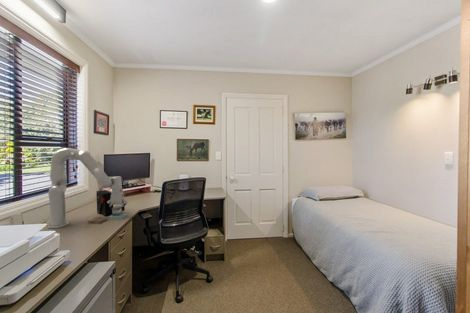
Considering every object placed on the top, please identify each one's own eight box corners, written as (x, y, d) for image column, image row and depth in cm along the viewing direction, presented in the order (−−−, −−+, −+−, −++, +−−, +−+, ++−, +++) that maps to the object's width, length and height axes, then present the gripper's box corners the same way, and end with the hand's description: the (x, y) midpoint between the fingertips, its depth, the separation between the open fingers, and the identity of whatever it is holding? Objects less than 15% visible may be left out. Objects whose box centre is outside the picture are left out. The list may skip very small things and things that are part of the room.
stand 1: (87, 223, 182) (87, 220, 182) (96, 219, 192) (96, 216, 192) (100, 223, 181) (100, 220, 181) (107, 219, 191) (107, 217, 191)
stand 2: (108, 219, 192) (108, 216, 192) (115, 215, 202) (115, 213, 202) (120, 219, 192) (120, 216, 192) (126, 215, 202) (126, 213, 202)
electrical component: (115, 214, 205) (114, 192, 204) (102, 217, 197) (102, 194, 196) (108, 210, 217) (107, 189, 216) (96, 213, 209) (95, 191, 208)
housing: (116, 213, 201) (116, 205, 200) (122, 213, 200) (122, 205, 200) (112, 216, 194) (111, 207, 193) (117, 216, 193) (117, 207, 193)
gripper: (129, 190, 199) (129, 209, 200) (109, 190, 200) (110, 209, 201) (124, 191, 192) (125, 212, 193) (104, 191, 193) (104, 212, 194)
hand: (117, 210), depth 197 cm, fingers open, 9 cm apart
